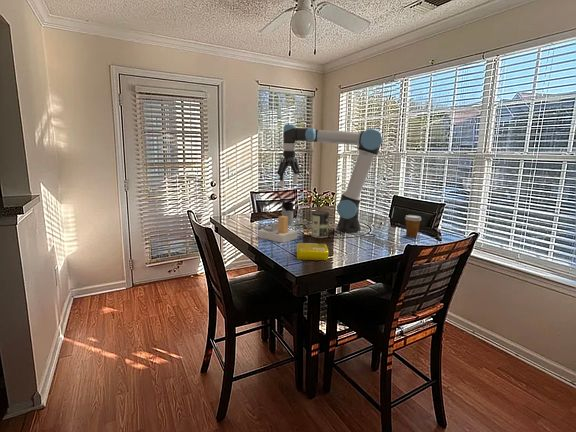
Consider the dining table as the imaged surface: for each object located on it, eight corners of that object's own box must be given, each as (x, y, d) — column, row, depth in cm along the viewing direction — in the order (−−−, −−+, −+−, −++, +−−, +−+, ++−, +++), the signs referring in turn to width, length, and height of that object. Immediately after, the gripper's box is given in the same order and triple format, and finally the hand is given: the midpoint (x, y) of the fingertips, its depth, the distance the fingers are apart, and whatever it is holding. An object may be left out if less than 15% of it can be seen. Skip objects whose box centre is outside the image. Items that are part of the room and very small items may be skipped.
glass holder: (279, 223, 236) (279, 202, 233) (298, 222, 240) (299, 201, 237) (283, 226, 228) (283, 204, 225) (303, 225, 232) (303, 203, 229)
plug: (282, 237, 200) (282, 215, 198) (287, 238, 198) (288, 216, 195) (278, 238, 197) (278, 216, 194) (283, 239, 195) (283, 217, 192)
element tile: (325, 251, 176) (326, 242, 175) (328, 261, 161) (329, 251, 160) (296, 250, 176) (296, 241, 175) (296, 260, 161) (297, 250, 160)
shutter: (280, 229, 202) (280, 222, 201) (272, 231, 197) (272, 224, 196) (271, 227, 206) (271, 220, 205) (263, 229, 201) (263, 222, 200)
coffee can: (328, 234, 210) (329, 211, 207) (327, 238, 200) (328, 214, 197) (312, 233, 212) (312, 210, 209) (309, 237, 202) (310, 213, 199)
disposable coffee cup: (420, 234, 213) (422, 215, 210) (419, 238, 204) (421, 218, 202) (404, 232, 217) (406, 214, 214) (402, 236, 208) (404, 216, 206)
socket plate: (297, 237, 200) (297, 231, 199) (282, 242, 189) (283, 235, 188) (273, 232, 210) (273, 226, 209) (258, 237, 199) (258, 230, 198)
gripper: (281, 150, 198) (281, 187, 202) (305, 150, 218) (304, 184, 222) (271, 150, 203) (271, 186, 207) (296, 150, 222) (295, 183, 226)
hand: (288, 185), depth 214 cm, fingers open, 13 cm apart
